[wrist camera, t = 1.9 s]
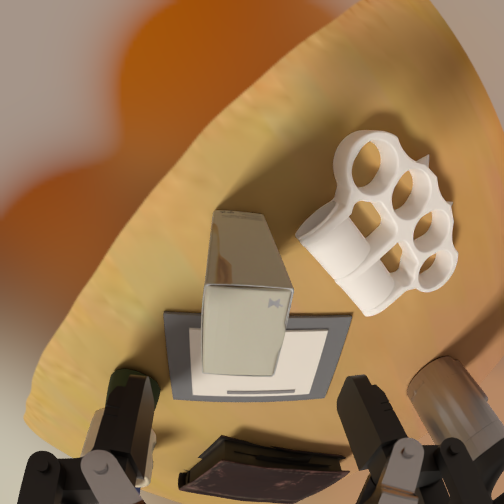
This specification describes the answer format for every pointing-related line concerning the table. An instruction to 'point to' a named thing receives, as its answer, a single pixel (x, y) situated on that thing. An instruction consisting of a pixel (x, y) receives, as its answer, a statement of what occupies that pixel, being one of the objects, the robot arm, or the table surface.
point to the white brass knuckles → (381, 227)
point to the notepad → (258, 388)
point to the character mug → (115, 380)
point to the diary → (260, 472)
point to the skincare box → (243, 298)
